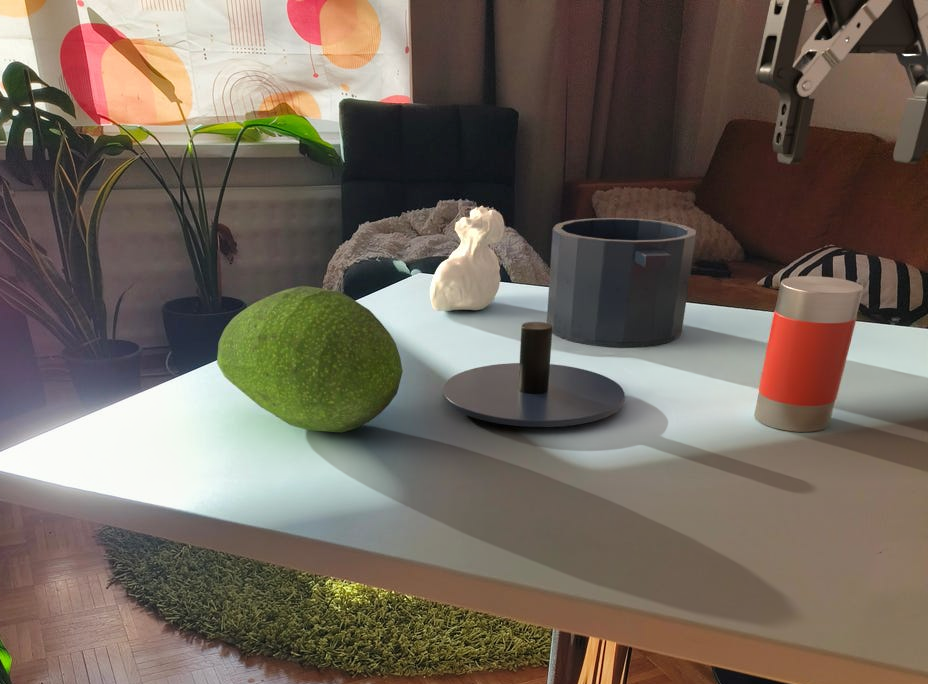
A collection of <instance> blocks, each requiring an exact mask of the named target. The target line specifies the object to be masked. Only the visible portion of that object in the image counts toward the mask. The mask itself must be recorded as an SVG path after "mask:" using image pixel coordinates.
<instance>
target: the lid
mask: <svg viewBox="0 0 928 684" xmlns="http://www.w3.org/2000/svg"><path fill="white" fill-rule="evenodd" d="M520 327H521V328H520V346H519V347H520V348H519V362H512V363H511V362H510V363H497V364H490V365H484V366H483V365H482V366H479V367H474V368H471V369H466V370H464V371H461V372H459V373H456V374H455V375H453V376H450V378H448V379H447V380H446V381H445V383H444V384H443V386H442V397H443V400H444V401H445V403H446V405H448V406H449V407H450V408H452V409H453V410H455V411H456V412H458V413H461V414H463V415H465V416H467V417H471V418H473V419H476V420H481V421H483V422H484V421H485V422H488V423H494V424H498V425H505V426H515V427H526V428H528V427H529V428H557V427H569V426H576V425H583V424H589V423H592V422H596V421H599V420H602V419H605V418H608V417H610V416H612V415H614V414H616V413H617V412H618V411H620V409H621V408H622V407H623V406H624V404H625V398H626V396H625V394H626V392H625V391H624V389H623V387H622V386H621V385H620V384H619V383H618V382H616V381H615V380H613V379H612V378H609V377H608V376H605V375H603V374H600V373H597V372H594V371H592V370H588V369H584V368H579V367H575V366H569V365H562V364H555V363H554V364H553V363H551V356H552V355H551V353H552V352H551V351H552V342H553V341H552V340H553V333H552V325H551V324H548V323H547V322H543V321H530V322H529V321H528V322H525V323H522V324H521V326H520Z"/></svg>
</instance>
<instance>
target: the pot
mask: <svg viewBox="0 0 928 684" xmlns="http://www.w3.org/2000/svg"><path fill="white" fill-rule="evenodd" d="M696 237H697V230H696V229H695V228H692V227H689V226H688V225H684V224H679V223H675V222H671V221H665V220H663V221H662V220H655V219H644V218H626V217H601V218H600V217H599V218H597V217H595V218H594V217H593V218H583V219H571V220H566V221H563V222H559V223H555V225H554V226H553V228H552V234H551V250H550V265H549V267H550V268H549V279H548V280H549V281H548V294H547V296H548V298H547V309H546V310H547V311H546V323H548V324H551V325H552V335H554V336H556V337H559V338H560V339H564V340H567V341H569V342H574V343H577V344H583V345H590V346H599V347H606V348H608V347H609V348H611V347H612V348H644V347H651V346H658V345H664V344H667V343H671V342H673V341H675V340H677V339H678V338H680V337H681V334H682V332H683V327H684V321H685V320H684V319H685V313H686V306H687V299H688V293H689V286H690V285H689V284H690V278H691V271H692V267H693V266H692V264H693V257H694V251H695V245H696Z"/></svg>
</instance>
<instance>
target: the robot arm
mask: <svg viewBox="0 0 928 684" xmlns="http://www.w3.org/2000/svg"><path fill="white" fill-rule="evenodd" d="M815 2H816V1H815V0H770V2H769V7H768V12H767V17H766V20H765V25H764V29H763V30H764V31H763V35H762V39H761V44H760V50H759V54H758V58H757V63H756V68H755V74H754V76H755V80H756V81H757V82H758V83H760V84H764V85H766V86H768V87H770V88H772V89H774V90H776V91H777V92H778V94H779V100H780V101H779V106H778V109H777V110H778V112H777V117H776V122H775V128H774V134H773V138H772V149H773V153H776V158H777V161H778V163H781V164H785V165H800V164H801V163H802V161H803V160H804V155H805V150H806V146H807V140H808V135H809V130H810V125H811V120H812V116H813V110H814V105H815V100H816V98H812V97H810V95H812V94H813V93H814V91H815V90H816V89H817V87H819V85H820V84H821V82H822V81H823V80H824V79H825V78H826V76H828V74H829V73H830V71H831V70H832V69H833V68H835V66H837V65H840V63H842V61H843V60H845V58H846V57H847V55H848V54H883V55H885V54H888V55H889V54H891V55H893V54H894V55H895V56H896V58H897V61H898V62H899V64H900V65H901V66H903V67H904V69H905V72H906V75H907V78H908V81H909V83H910V87H911V89H912V93H913V96H912V97H908V96H907V97H906V101H905V105H904V109H903V113H902V117H901V121H900V125H899V128H898V133H897V137H896V141H895V145H894V149H893V155H892V158H893V161H895V162H898V163H903V164H917V163H919V162H920V161H921V160H922V157H923V154H927V152H928V0H819V2H820V5H821V9H822V10H823V13H824V16H825V17H824V18H823V20H822V21H821V22H820V23H819V25H818V26H817V28H815V30H814V31H813V32H812V34H811V35H810V36H809V37H808V39H807V40H806V42H805V43H804V44H803V46H802V47H801V50H800V54H799V55H798V57H797V58H796V54H797V50H798V45H799V43H800V37H801V32H802V29H803V24H804V20H805V17H806V16H805V15H806V13H807V12H808V11H810V9H812V7H813V5H814V3H815Z"/></svg>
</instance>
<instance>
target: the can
mask: <svg viewBox="0 0 928 684" xmlns="http://www.w3.org/2000/svg"><path fill="white" fill-rule="evenodd" d="M779 284H780V285H779V290H778V294H777V298H776V299H777V300H776V304H775V308H774V311H773V316H772V322H771V326H770V330H769V335H768V340H767V346H766V350H765V351H766V352H765V356H764V361H763V365H762V371H761V375H760V380H759V385H758V394H757V399H756V404H755V409H754V413H753V416H754V419H755V420H756V421H757V422H758V423H761V424H762V425H764V426H767V427H770V428H773V429H776V430H782V431H786V432H787V431H788V432H796V433H797V432H798V433H806V432H807V433H810V432H818V431H822V430H825V429H826V428H828V427H829V426H830V423H831V419H832V415H833V411H834V407H835V403H836V400H837V398H838V395H839V390H840V386H841V383H842V379H843V374H844V370H845V366H846V363H847V358H848V355H849V350H850V347H851V342H852V338H853V334H854V332H855V331H854V330H855V326H856V323H857V318H858V312H859V308H860V304H861V299H862V296H863V292H864V287H863V285H861V284H860V283H857V282H856V281H852V280H848V279H843V278H839V277H838V278H836V277H830V276H819V275H818V276H817V275H815V276H814V275H801V276H799V275H798V276H790V277H786V278H783V279H782V280H781V282H780V283H779Z"/></svg>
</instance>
